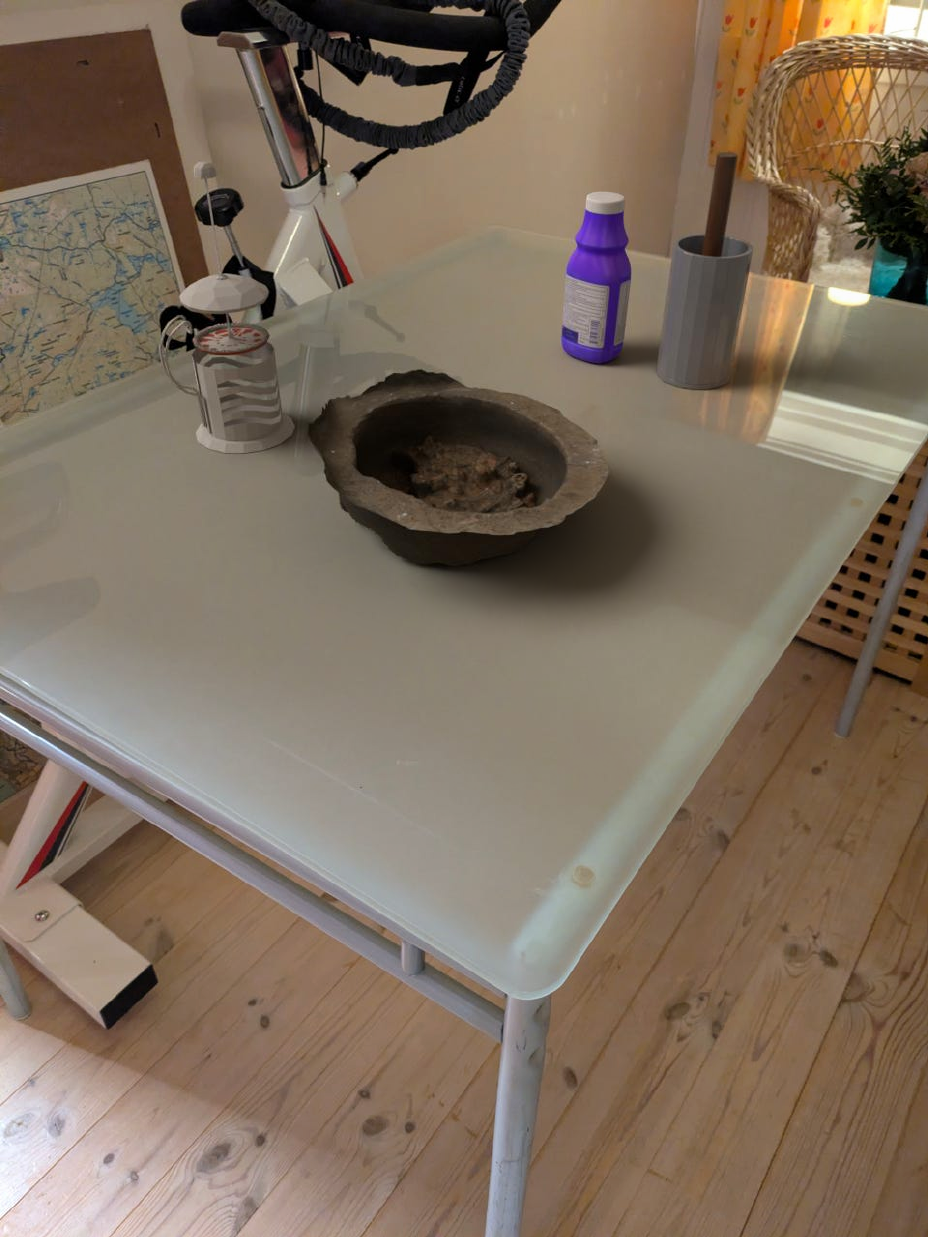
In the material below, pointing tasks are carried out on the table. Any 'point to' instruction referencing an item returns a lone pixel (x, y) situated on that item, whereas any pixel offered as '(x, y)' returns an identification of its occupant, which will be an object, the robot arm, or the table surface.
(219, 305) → the french press
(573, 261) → the bottle
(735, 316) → the cylindrical container
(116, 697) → the table surface
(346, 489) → the stone bowl
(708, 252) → the brush
